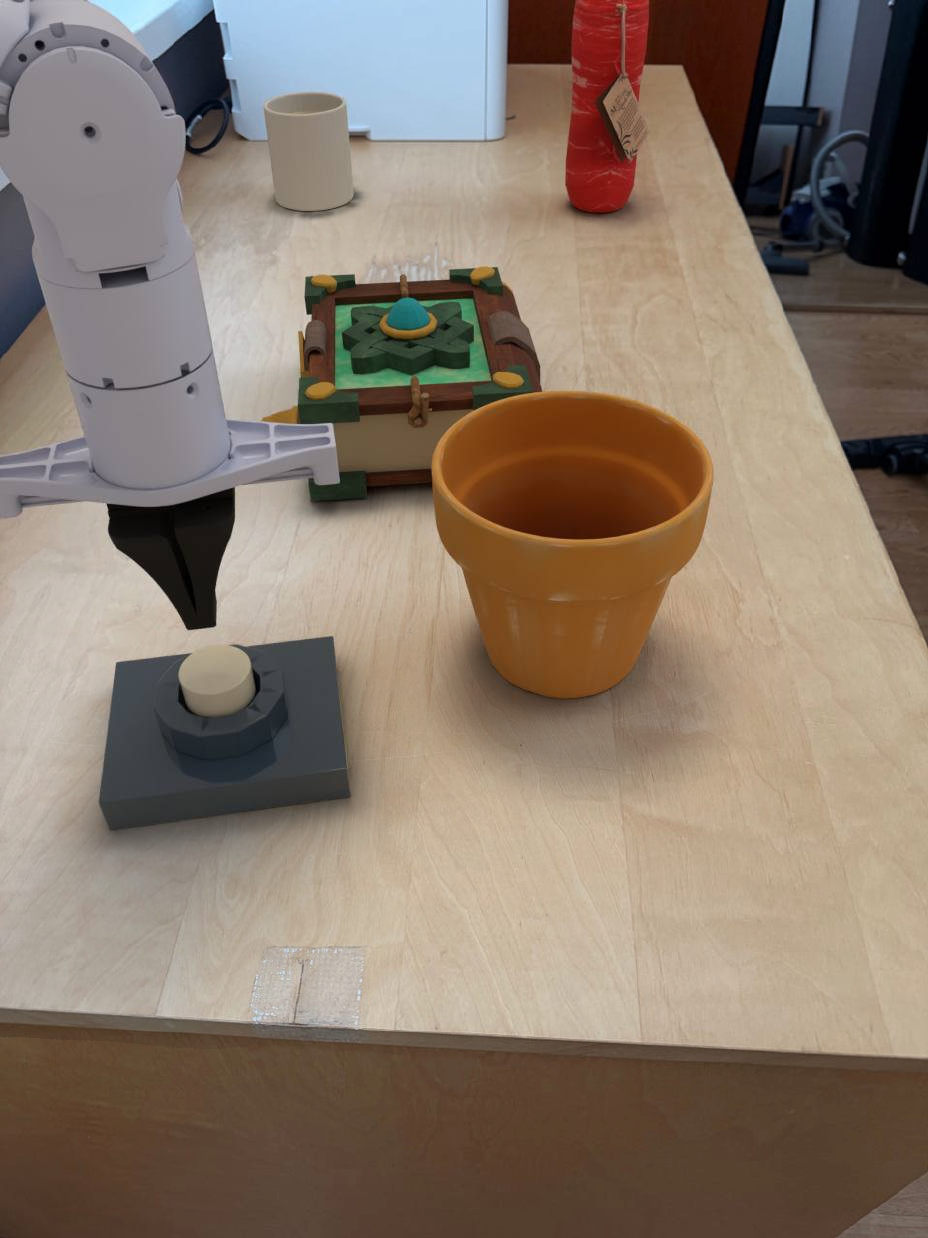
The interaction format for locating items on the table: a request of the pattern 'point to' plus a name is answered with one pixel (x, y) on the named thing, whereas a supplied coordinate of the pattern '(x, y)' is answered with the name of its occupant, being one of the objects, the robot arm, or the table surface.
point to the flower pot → (569, 529)
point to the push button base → (224, 739)
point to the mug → (309, 150)
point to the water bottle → (606, 102)
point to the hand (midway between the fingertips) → (201, 615)
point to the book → (405, 369)
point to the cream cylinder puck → (217, 681)
